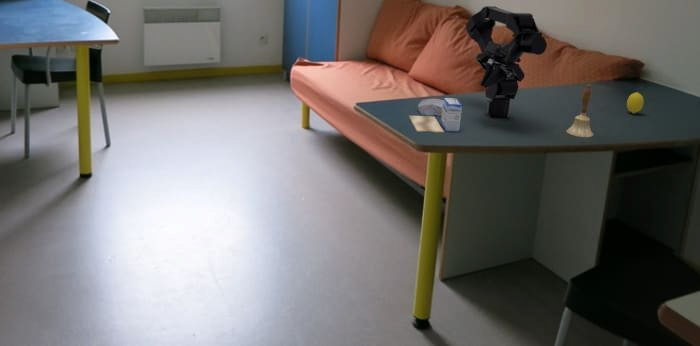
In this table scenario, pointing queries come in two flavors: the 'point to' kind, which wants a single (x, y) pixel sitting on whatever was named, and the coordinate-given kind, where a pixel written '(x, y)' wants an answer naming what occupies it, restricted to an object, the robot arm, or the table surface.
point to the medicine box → (451, 114)
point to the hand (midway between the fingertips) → (482, 86)
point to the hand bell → (582, 118)
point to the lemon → (635, 102)
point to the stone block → (431, 107)
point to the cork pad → (426, 124)
